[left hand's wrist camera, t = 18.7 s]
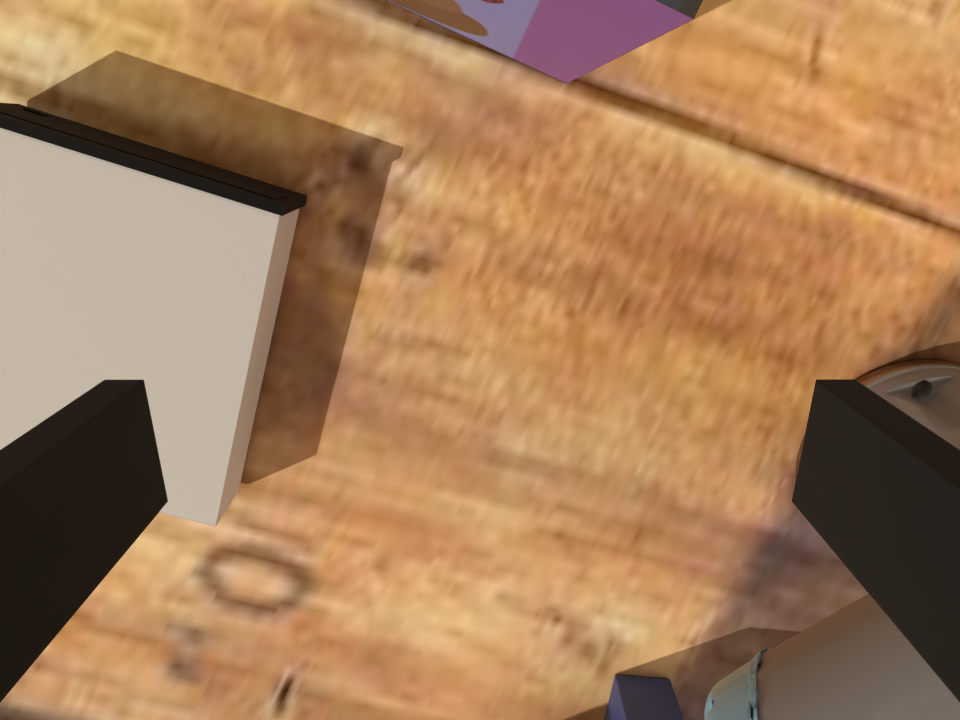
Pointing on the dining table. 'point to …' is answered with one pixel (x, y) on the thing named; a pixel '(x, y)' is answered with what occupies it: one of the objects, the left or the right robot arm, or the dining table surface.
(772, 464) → the dining table surface
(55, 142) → the disc drive
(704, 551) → the dining table surface
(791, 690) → the left robot arm
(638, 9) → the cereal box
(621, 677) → the bar
